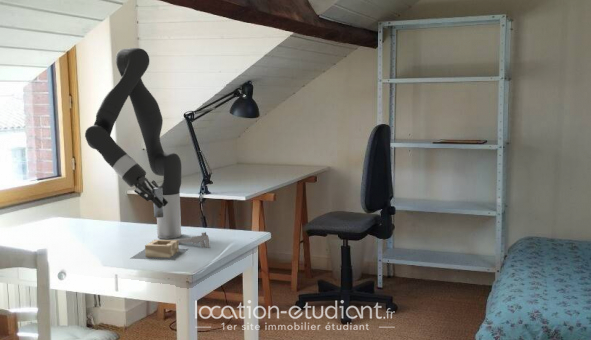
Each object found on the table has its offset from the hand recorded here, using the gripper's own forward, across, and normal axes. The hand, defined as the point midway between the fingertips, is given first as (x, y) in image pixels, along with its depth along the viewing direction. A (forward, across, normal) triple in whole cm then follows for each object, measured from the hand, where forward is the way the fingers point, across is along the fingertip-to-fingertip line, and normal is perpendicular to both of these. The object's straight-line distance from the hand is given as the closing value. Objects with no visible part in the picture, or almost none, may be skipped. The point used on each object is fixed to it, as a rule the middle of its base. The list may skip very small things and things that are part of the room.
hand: (163, 205), depth 226 cm
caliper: (+15, +14, +11) cm, 23 cm away
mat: (+11, 0, +14) cm, 18 cm away
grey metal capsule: (+1, 0, +4) cm, 5 cm away
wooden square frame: (+11, 0, +13) cm, 17 cm away
